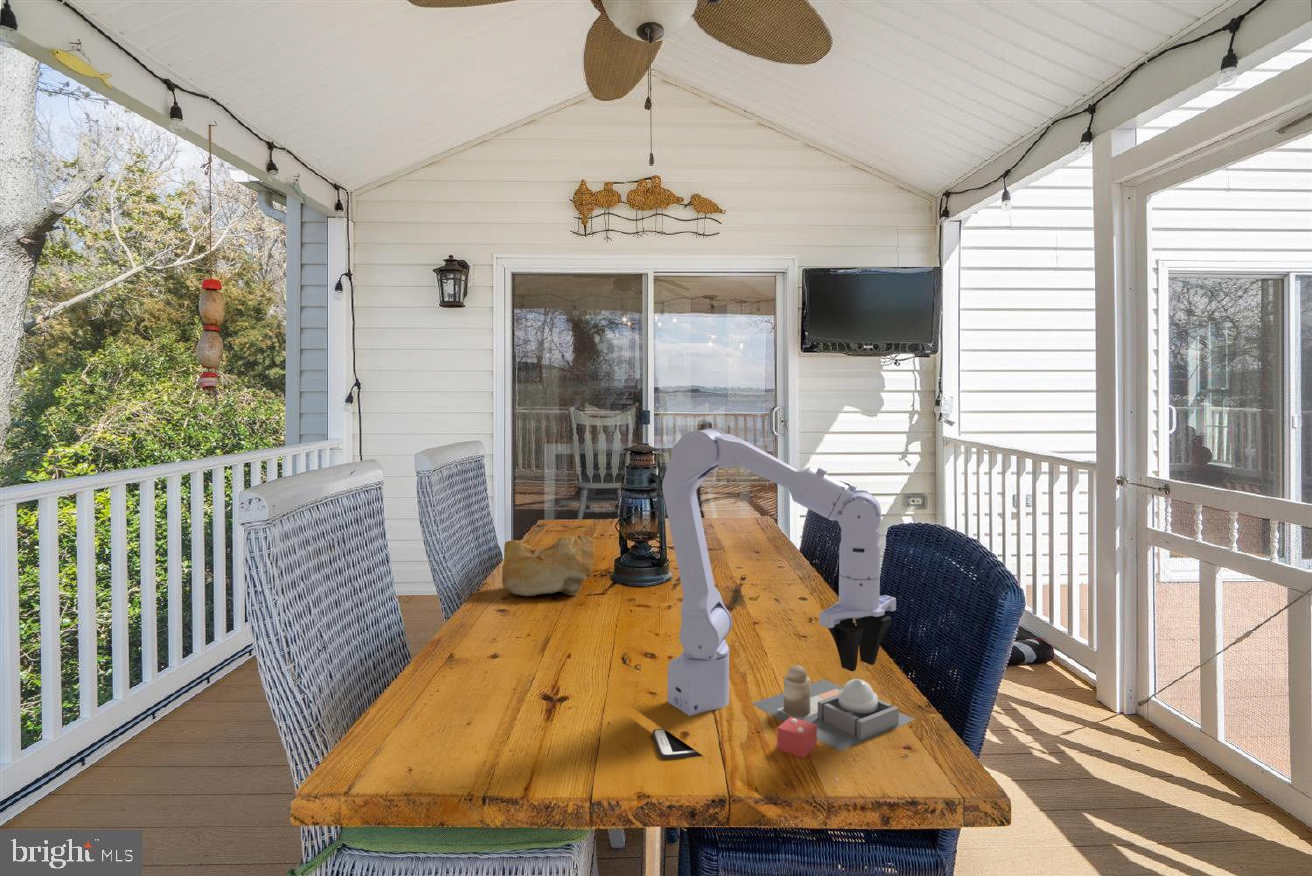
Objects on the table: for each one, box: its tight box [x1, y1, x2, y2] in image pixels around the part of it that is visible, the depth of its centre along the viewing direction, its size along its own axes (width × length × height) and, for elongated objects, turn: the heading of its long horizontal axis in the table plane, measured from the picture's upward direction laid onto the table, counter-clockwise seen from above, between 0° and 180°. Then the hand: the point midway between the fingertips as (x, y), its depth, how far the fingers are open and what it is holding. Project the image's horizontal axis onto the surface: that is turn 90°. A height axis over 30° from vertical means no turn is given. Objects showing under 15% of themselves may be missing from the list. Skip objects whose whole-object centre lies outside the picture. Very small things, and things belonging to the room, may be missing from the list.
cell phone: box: [651, 727, 704, 760], centre depth 101 cm, size 8×15×1 cm, turn 100°
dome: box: [838, 678, 879, 713], centre depth 104 cm, size 6×6×5 cm
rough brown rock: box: [501, 534, 595, 597], centre depth 179 cm, size 23×17×15 cm
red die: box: [776, 717, 818, 759], centre depth 97 cm, size 4×4×4 cm
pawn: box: [783, 664, 812, 717], centre depth 108 cm, size 4×4×7 cm
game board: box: [751, 679, 916, 752], centre depth 108 cm, size 16×18×4 cm
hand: (858, 665), depth 104 cm, fingers open, 4 cm apart
